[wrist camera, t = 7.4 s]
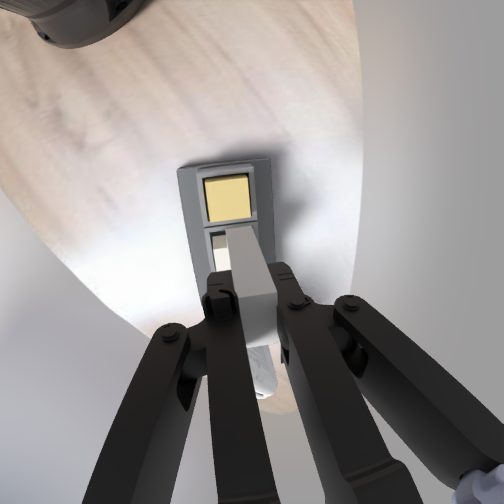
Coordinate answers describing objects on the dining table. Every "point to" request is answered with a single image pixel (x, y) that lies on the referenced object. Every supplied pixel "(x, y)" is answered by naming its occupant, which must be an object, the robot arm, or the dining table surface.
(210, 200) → the key ochre
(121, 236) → the dining table surface
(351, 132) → the dining table surface
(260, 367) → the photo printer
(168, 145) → the dining table surface
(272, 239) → the keypad
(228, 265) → the key ivory
